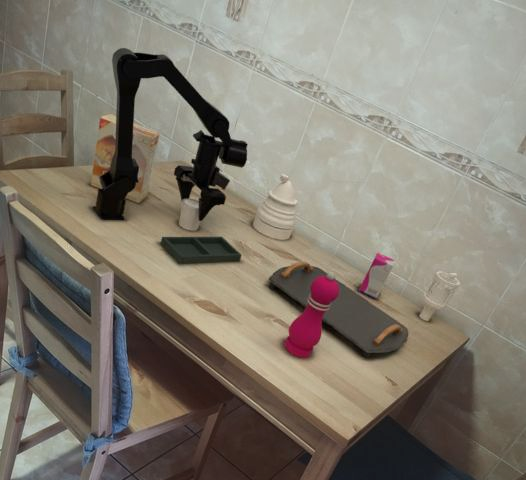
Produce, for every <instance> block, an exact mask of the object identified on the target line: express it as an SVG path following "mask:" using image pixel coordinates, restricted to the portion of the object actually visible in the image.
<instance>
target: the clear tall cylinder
mask: <svg viewBox="0 0 526 480" xmlns="http://www.w3.org/2000/svg"><path fill="white" fill-rule="evenodd" d="M442 277H443V278H442ZM457 277H458V274H457V273H455V272H449V273H448V272H445V271H440V270H439V271H436V272H435V275H434V277H433V279H432V280H431V283H429V286H428V287H427V289H426V291H425V292H424V293H423V294H422V297H421V298H422V300H423V301H424V303H426V304H425V305H424V306H423V308H422V311H421V312H420V313H419V318H420V319H421V320H422V321H426V322H429V321H430V320H431V317H432V316H433V314H434V313H435V311H436V309H438V310H444V309H446V307H447V305H448V303H449V302H450V300H451V299H452V297H453V296H454V294H455V292H456V291H457V289H458V288H459V286H460V285H461V282H460V281H459V279H457ZM444 278H446V279H448V280H446V279H444ZM440 284H441V285H442V286H443V287H440V286H439V285H440Z"/></svg>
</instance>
